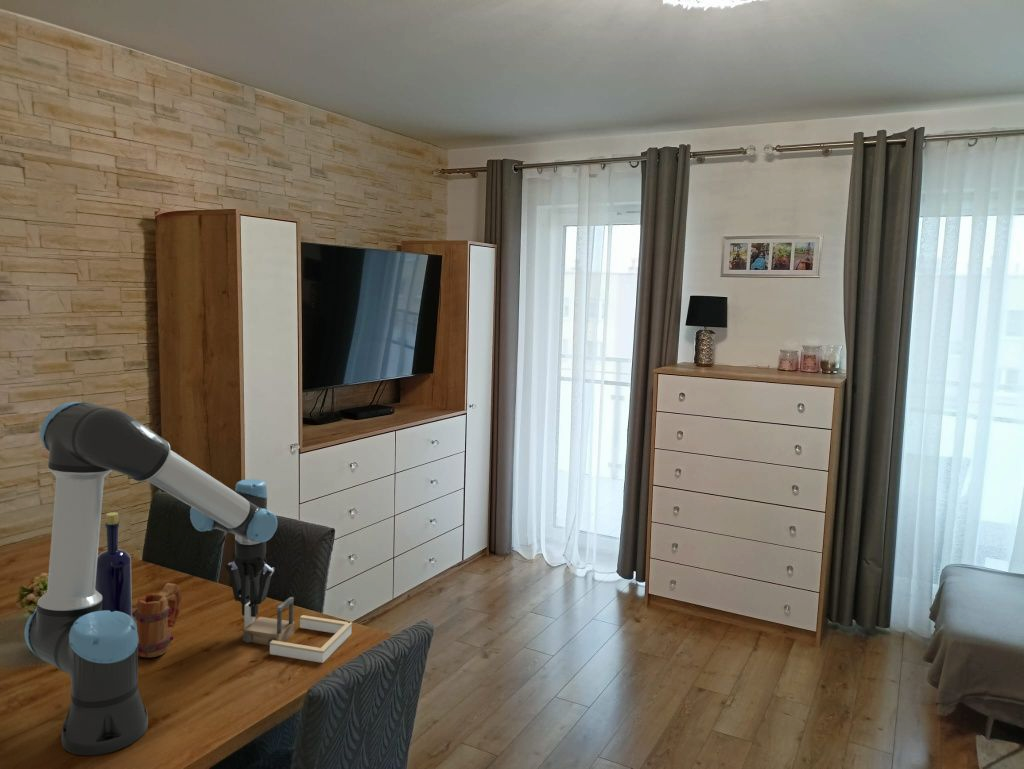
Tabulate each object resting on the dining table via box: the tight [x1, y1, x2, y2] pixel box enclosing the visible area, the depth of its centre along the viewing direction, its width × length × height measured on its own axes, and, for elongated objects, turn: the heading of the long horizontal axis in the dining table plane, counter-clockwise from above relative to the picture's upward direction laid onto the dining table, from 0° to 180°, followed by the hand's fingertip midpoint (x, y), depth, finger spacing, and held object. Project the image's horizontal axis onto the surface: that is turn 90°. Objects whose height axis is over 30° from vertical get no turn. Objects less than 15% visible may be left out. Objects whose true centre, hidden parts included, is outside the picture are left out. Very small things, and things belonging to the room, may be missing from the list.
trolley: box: [242, 596, 296, 647], centre depth 192 cm, size 10×10×10 cm
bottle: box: [95, 511, 133, 618], centre depth 193 cm, size 9×9×30 cm
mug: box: [132, 582, 182, 658], centre depth 183 cm, size 15×8×15 cm, turn 168°
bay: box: [269, 614, 353, 664], centre depth 190 cm, size 17×14×3 cm
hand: (249, 627), depth 194 cm, fingers closed
